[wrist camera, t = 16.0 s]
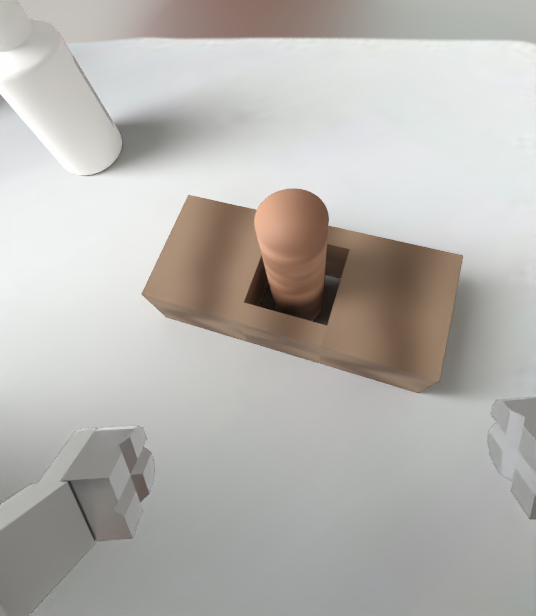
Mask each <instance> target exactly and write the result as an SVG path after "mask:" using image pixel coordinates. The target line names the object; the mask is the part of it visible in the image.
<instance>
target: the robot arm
mask: <svg viewBox="0 0 536 616" xmlns="http://www.w3.org/2000/svg"><path fill="white" fill-rule="evenodd" d="M491 416H492V417H493V418H494V420H495V421H496V423H495V424H494V425H493V426H492V427H491V428H490V429H489V430H488V439H487V444H488V449H489V454H490V457H491V459H492V461H493V464H494V466H495V467H496V469H497V470H498V472H499V473H500V474H501V475H503V476H504V477H506V478H507V479H509V480H511V481H512V488H511V492H512V493H513V495H514V497H515V498H516V500H517V501H518V503H519V504H520V506H521V507H522V509H523V510H524V512H525V513H526V515H527V516H528V518H529V519H536V397H526V398H513V399H500V400H495V402H494V403H493V405H492V410H491ZM146 439H147V437H146V434H145V432H144V429H143V427H140V426H119V427H100V428H85V429H79V430H77V431H75V432H74V433H73V434H72V436H71V437H70V439H69V440H68V441H67V443H66V444H65V446H64V447H63V448H62V450H61V451H60V453H59V454H58V455H57V457H56V458H55V460H54V461H53V462H52V464H51V465H50V467H49V468H48V469H47V471H46V472H45V473H44V475H43V476H42V478H41V479H40V480H39V482H38V483H34V484H30V485H28V486H27V487H25V488H24V489H22V490H21V491H19V492H18V493H16V494H15V495H13V496H12V497H11V498H9V499H8V500H6V501H5V502H3V503H2V504H0V616H29V614H30V613H31V612H32V611H33V610H34V609H35V608H36V607H37V606H38V605H39V604H40V603H41V602H42V600H43V599H44V598H45V597H46V596H47V595H48V594H49V593H50V592H51V591H52V590H53V589H54V588H55V586H56V585H57V584H58V583H59V582H60V581H61V580H62V579H63V578H64V577H65V576H66V575H67V574H68V572H69V571H70V570H71V569H72V568H73V567H74V566H75V565H76V564H77V563H78V562H79V561H80V560H81V559H82V557H83V556H84V555H85V554H86V553H87V552H88V551H89V550H90V549H91V548H92V547H93V546H94V545H95V541H105V540H118V539H130V538H133V536H134V533H135V531H136V528H137V525H138V523H139V520H140V518H141V515H142V512H143V509H142V506H141V504H140V502H141V501H142V500H143V499H144V498H145V497H146V496H148V495H149V494H150V491H151V488H152V485H153V481H154V473H155V467H154V459H153V456H152V453H151V452H150V451H149V450H148V449H146V448H145V447H144V444H145V442H146Z"/></svg>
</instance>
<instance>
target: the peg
mask: <svg viewBox="0 0 536 616" xmlns="http://www.w3.org/2000/svg"><path fill="white" fill-rule="evenodd" d="M328 221H329V217H328V211H327V208H326V206H325V205H324V203H323V202H322V200H321V199H320V198H319V197H317V196H316V195H314V194H313V193H311V192H308V191H306V190H302V189H285V190H281V191H278V192H275V193H273V194H272V195H270V196H268V197H267V198H266V199H265V200H264V201H263V202H262V203H261V204H260V206H259V207H258V209H257V211H256V214H255V218H254V226H255V231H256V235H257V238H258V242H259V246H260V250H261V254H262V258H263V262H264V266H265V270H266V274H267V277H268V281H269V285H270V289H271V293H272V297H273V301H274V305H275V308H276V311H277V312H280V313H284V314H287V315H291V316H294V317H298V318H302V319H305V320H309V321H312V320H314V319H315V318H316V317H317V316H318V315H319V313H320V312H321V309H322V306H323V293H324V279H325V264H326V250H327V235H328Z"/></svg>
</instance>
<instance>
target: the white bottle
mask: <svg viewBox="0 0 536 616" xmlns="http://www.w3.org/2000/svg"><path fill="white" fill-rule="evenodd" d="M0 94H1V95H2V97H3V98H4V99H5V100H6V101H7V102H8V103H9V105H10V106H11V107H12V108H13V109H14V110H15V112H16V113H17V114H18V115H19V116H20V117H21V118H22V120H23V121H24V122H25V123H26V124H27V125H28V126H29V128H30V129H31V130H32V131H33V132H34V133H35V135H36V136H37V137H38V138H39V139H40V140H41V141H42V143H43V144H44V145H45V146H46V147H47V148H48V149H49V151H50V152H51V153H52V154H53V155H54V156H55V158H56V159H57V160H58V161H59V162H60V163H61V164H62V166H63V167H64V168H65V169H67V170H68V171H70V172H72V173H74V174H78V175H92V174H95V173H98V172H101V171H103V170H104V169H106V168H108V167H109V166H111V165H112V163H113V162H114V161H115V160H116V159H117V158H118V156H119V154H120V152H121V148H122V139H121V135H120V133H119V131H118V129H117V128H116V126H115V124H114V123H113V121H112V119H111V118H110V116H109V114H108V113H107V111H106V109H105V108H104V106H103V104H102V103H101V101H100V99H99V98H98V96H97V94H96V93H95V91H94V89H93V88H92V86H91V84H90V83H89V81H88V79H87V78H86V76H85V74H84V73H83V71H82V69H81V68H80V66H79V64H78V63H77V61H76V59H75V58H74V56H73V55H72V53H71V51H70V50H69V48H68V46H67V45H66V43H65V41H64V40H63V38H62V36H61V35H60V33H59V32H58V31H57V29H56V28H55V27H54V26H53V25H52V24H51V23H48V22H46V21H44V20H42V19H37V18H29V17H28V16H27V14H26V13H25V11H24V10H23V8H22V6H21V5H20V3H19V2H18V0H0Z"/></svg>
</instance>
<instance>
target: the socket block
mask: <svg viewBox="0 0 536 616" xmlns="http://www.w3.org/2000/svg"><path fill="white" fill-rule="evenodd" d="M256 211H257V210H255V209H250V208H245V207H241V206H236V205H232V204H227V203H223V202H218V201H214V200H209V199H205V198H200V197H196V196H191V195H188V197H187V199H186V201H185V203H184V205H183V208H182V210H181V212H180V214H179V216H178V218H177V220H176V222H175V224H174V227H173V229H172V231H171V233H170V235H169V237H168V239H167V241H166V243H165V246H164V248H163V250H162V252H161V254H160V256H159V258H158V260H157V262H156V265H155V267H154V269H153V271H152V273H151V275H150V277H149V279H148V281H147V284H146V286H145V288H144V290H143V292H142V295H143V296H144V297H145V298H146V299H147V300H148V301H149V302H150V303H151V304H153V305H154V306H155V307H156V308H157V309H158V310H159V311H160V312H161V313H162V314H163V315H164V316H165V317H168V318H171V319H174V320H178V321H181V322H184V323H188V324H191V325H194V326H198V327H201V328H204V329H208V330H211V331H214V332H217V333H221V334H224V335H227V336H231V337H234V338H237V339H241V340H244V341H247V342H251V343H254V344H257V345H261V346H264V347H267V348H271V349H274V350H277V351H281V352H284V353H287V354H291V355H294V356H297V357H301V358H304V359H307V360H311V361H314V362H317V363H321V364H324V365H327V366H330V367H334V368H337V369H340V370H344V371H347V372H350V373H354V374H357V375H360V376H364V377H367V378H370V379H374V380H377V381H380V382H384V383H387V384H390V385H394V386H397V387H400V388H404V389H407V390H410V391H414V392H417V393H419V392H421V391H423V390H425V389H426V388H428V387H430V386H432V385H433V384H435V383H437V382H439V381H440V376H441V371H442V366H443V360H444V355H445V350H446V344H447V339H448V334H449V328H450V323H451V318H452V312H453V307H454V302H455V296H456V291H457V286H458V280H459V275H460V270H461V264H462V259H463V255H458V254H453V253H449V252H444V251H440V250H435V249H431V248H426V247H422V246H417V245H413V244H408V243H404V242H399V241H395V240H390V239H386V238H381V237H377V236H372V235H368V234H363V233H359V232H354V231H349V230H345V229H340V228H336V227H331V226H328V235H327V250H326V264H325V274H326V275H330V276H334V277H338V278H341V280H340V284H339V287H338V291H337V294H336V297H335V301H334V304H333V307H332V311H331V314H330V318H329V321H328V324H327V325H323V324H320V323H316V322H312V321H309V320H305V319H302V318H298V317H294V316H291V315H287V314H284V313H280V312H276V311H273V310H269V309H266V308H262V307H261V304H262V301H263V298H264V296H265V293H266V290H267V287H268V284H269V281H268V277H267V274H266V270H265V266H264V262H263V258H262V254H261V250H260V246H259V242H258V238H257V235H256V231H255V226H254V218H255V214H256Z"/></svg>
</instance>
